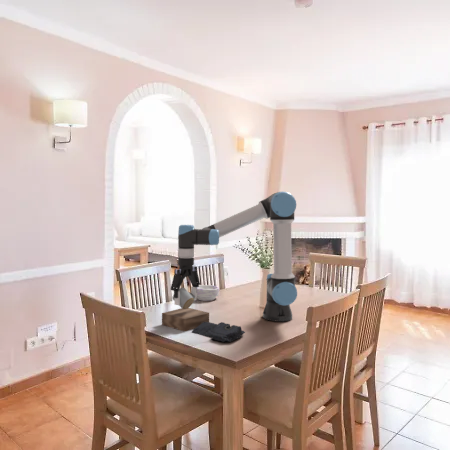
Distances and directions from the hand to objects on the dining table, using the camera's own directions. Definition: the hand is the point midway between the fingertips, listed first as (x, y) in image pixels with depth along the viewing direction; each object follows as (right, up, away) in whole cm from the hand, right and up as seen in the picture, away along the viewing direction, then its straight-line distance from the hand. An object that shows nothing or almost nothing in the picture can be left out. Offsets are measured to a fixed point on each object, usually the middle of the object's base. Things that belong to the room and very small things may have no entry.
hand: (185, 302), depth 202 cm
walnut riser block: (0, -11, +1) cm, 11 cm away
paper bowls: (+7, -9, +53) cm, 54 cm away
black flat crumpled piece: (+16, -12, -12) cm, 23 cm away
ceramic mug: (0, -3, 0) cm, 3 cm away
